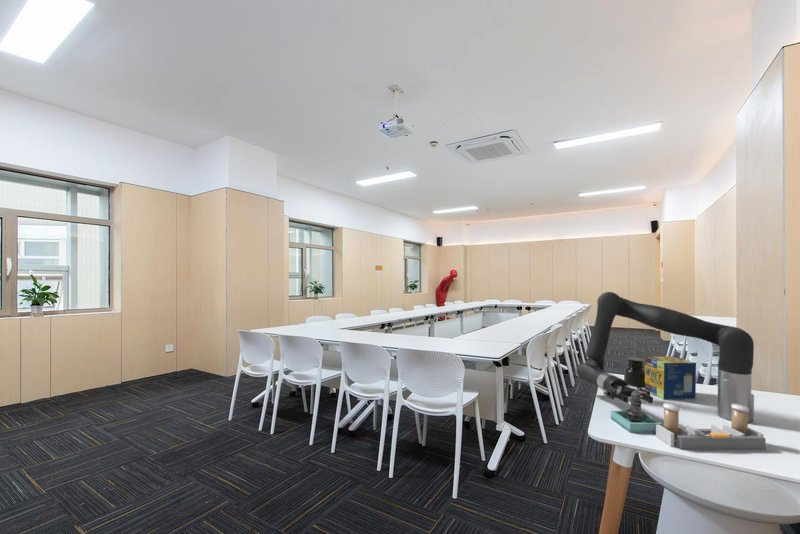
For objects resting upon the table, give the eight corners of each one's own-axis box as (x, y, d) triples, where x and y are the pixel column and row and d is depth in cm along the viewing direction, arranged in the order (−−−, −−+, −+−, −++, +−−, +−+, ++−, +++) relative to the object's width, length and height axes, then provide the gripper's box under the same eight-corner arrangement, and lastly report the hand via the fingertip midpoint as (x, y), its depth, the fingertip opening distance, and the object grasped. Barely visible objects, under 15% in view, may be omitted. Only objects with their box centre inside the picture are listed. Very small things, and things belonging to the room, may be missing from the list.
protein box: (644, 391, 164) (644, 356, 164) (675, 390, 166) (675, 356, 166) (663, 399, 154) (663, 362, 154) (696, 398, 156) (697, 362, 156)
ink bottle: (640, 381, 178) (641, 357, 178) (651, 387, 169) (651, 361, 169) (619, 381, 179) (620, 356, 179) (629, 386, 170) (629, 361, 170)
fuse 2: (739, 437, 120) (741, 404, 120) (751, 443, 116) (753, 409, 115) (726, 436, 120) (727, 403, 120) (737, 443, 116) (739, 408, 116)
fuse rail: (732, 432, 124) (732, 419, 124) (768, 449, 112) (768, 435, 112) (647, 431, 124) (647, 418, 124) (674, 449, 112) (674, 435, 112)
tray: (640, 419, 134) (640, 410, 134) (662, 432, 123) (662, 423, 123) (610, 418, 134) (610, 410, 134) (629, 432, 123) (630, 423, 123)
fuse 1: (672, 436, 120) (672, 403, 120) (682, 443, 116) (682, 408, 116) (659, 436, 120) (660, 403, 120) (669, 442, 116) (669, 408, 116)
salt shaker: (645, 428, 124) (646, 392, 124) (625, 424, 127) (626, 389, 127) (645, 422, 129) (645, 388, 129) (625, 418, 132) (626, 385, 132)
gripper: (593, 375, 142) (619, 389, 126) (630, 375, 142) (660, 389, 126) (593, 394, 142) (618, 411, 126) (630, 394, 142) (660, 411, 126)
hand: (639, 400), depth 126 cm, fingers open, 8 cm apart
